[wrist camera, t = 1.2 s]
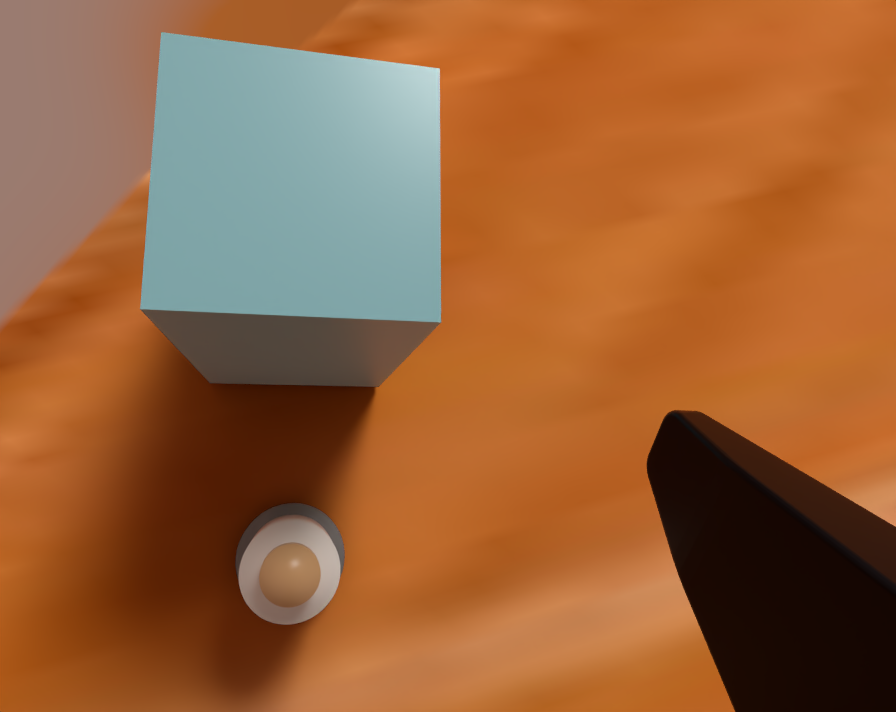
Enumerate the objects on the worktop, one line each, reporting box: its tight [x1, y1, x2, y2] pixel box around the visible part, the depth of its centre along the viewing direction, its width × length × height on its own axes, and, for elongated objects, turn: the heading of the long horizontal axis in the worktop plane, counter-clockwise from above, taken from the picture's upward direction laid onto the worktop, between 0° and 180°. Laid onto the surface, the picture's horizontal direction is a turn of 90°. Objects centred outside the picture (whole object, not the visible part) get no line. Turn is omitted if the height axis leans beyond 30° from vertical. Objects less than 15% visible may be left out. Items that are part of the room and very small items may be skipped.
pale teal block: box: [140, 32, 441, 387], centre depth 16 cm, size 5×5×9 cm
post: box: [236, 503, 345, 625], centre depth 17 cm, size 3×3×4 cm
